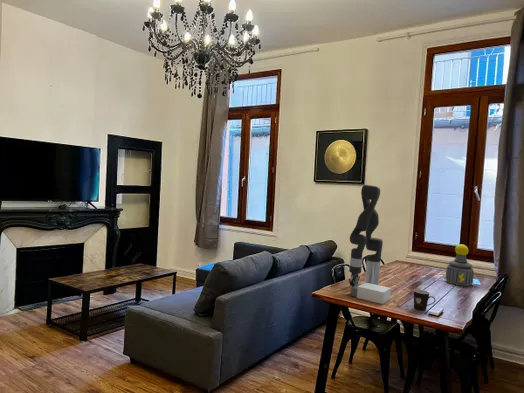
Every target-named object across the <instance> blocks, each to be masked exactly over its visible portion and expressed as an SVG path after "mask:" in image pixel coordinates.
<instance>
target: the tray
mask: <svg viewBox="0 0 524 393" xmlns="http://www.w3.org/2000/svg"><path fill="white" fill-rule="evenodd" d="M362 284H363V283H358V285H356V286H354V287H352V286H351V290H350V296H352V297H355V298H357V290H358V286H360V285H362Z"/></svg>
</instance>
